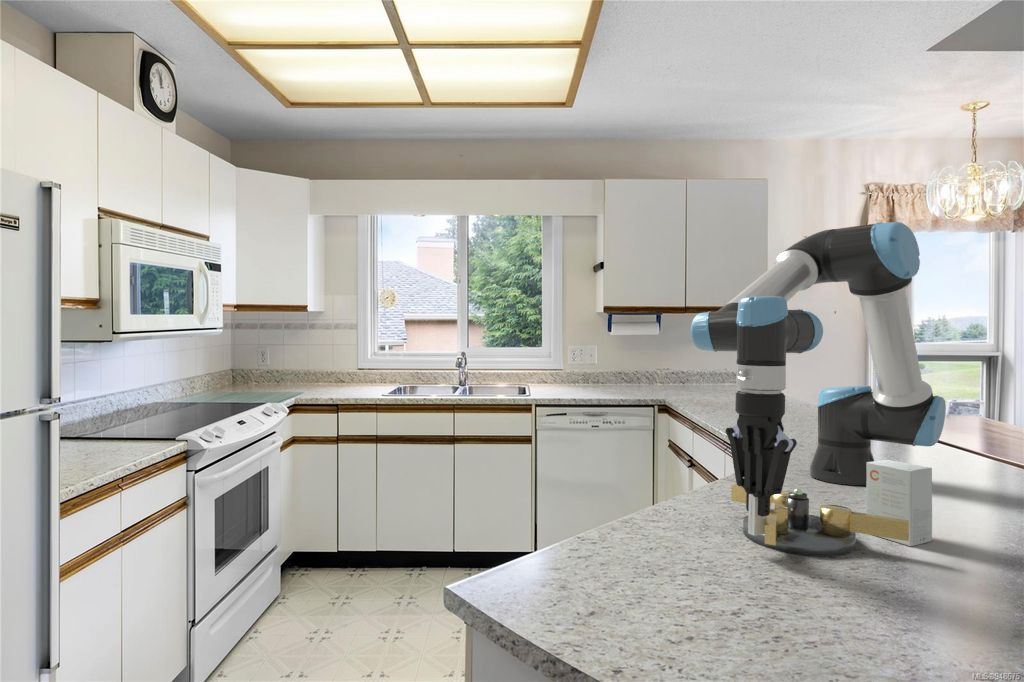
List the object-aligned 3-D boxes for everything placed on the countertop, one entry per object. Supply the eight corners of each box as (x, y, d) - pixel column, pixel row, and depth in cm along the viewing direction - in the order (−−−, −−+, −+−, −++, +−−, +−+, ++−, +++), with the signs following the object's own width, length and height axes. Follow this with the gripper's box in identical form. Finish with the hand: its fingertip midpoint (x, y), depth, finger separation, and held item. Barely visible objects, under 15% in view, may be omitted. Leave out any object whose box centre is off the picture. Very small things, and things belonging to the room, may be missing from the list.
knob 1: (804, 515, 113) (804, 492, 113) (792, 520, 110) (792, 497, 110) (739, 501, 123) (739, 480, 123) (727, 505, 120) (727, 483, 120)
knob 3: (817, 532, 103) (817, 507, 103) (822, 525, 107) (822, 501, 107) (907, 548, 96) (908, 521, 96) (909, 540, 100) (909, 514, 100)
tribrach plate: (731, 520, 117) (732, 475, 117) (828, 523, 115) (829, 477, 115) (760, 554, 99) (761, 501, 99) (876, 558, 98) (876, 504, 97)
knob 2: (758, 523, 108) (758, 500, 108) (788, 527, 106) (788, 503, 106) (753, 546, 96) (754, 520, 96) (786, 551, 94) (787, 524, 94)
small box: (932, 541, 105) (933, 467, 105) (910, 547, 103) (911, 470, 102) (886, 528, 113) (887, 458, 113) (864, 533, 110) (865, 461, 110)
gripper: (714, 387, 103) (711, 524, 104) (774, 396, 91) (771, 550, 92) (747, 386, 106) (744, 518, 107) (810, 394, 94) (806, 543, 95)
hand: (757, 533), depth 100 cm, fingers closed
